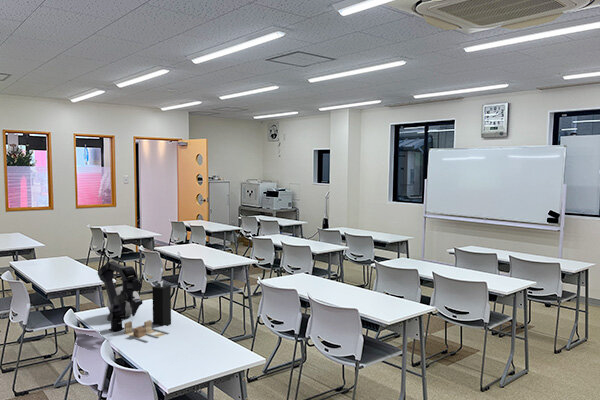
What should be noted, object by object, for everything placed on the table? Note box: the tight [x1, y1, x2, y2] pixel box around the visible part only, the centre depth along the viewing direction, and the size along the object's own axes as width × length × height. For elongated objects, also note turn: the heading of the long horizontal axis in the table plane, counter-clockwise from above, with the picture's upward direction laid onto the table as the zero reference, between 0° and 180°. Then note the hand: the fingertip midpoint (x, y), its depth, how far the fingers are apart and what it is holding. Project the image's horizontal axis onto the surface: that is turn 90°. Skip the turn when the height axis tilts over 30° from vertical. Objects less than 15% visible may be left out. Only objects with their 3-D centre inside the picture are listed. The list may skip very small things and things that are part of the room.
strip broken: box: [143, 319, 166, 338], centre depth 263 cm, size 13×5×7 cm, turn 58°
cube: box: [132, 326, 146, 339], centre depth 258 cm, size 4×4×4 cm
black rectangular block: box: [151, 280, 172, 327], centre depth 279 cm, size 8×8×28 cm
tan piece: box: [123, 320, 147, 339], centre depth 260 cm, size 13×5×7 cm, turn 58°
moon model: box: [106, 285, 141, 318], centre depth 296 cm, size 20×20×20 cm
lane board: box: [128, 327, 170, 343], centre depth 260 cm, size 15×16×2 cm
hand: (128, 315), depth 263 cm, fingers open, 9 cm apart
